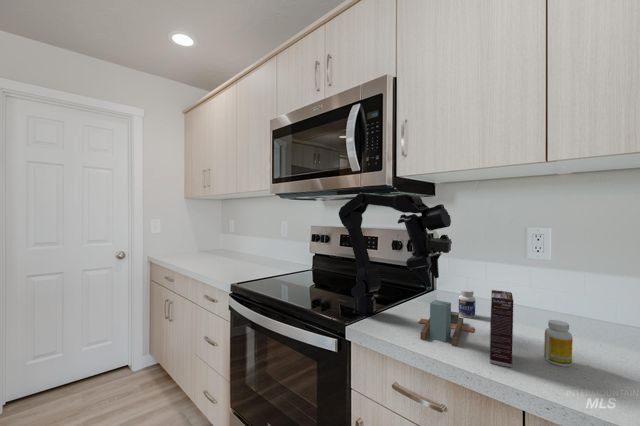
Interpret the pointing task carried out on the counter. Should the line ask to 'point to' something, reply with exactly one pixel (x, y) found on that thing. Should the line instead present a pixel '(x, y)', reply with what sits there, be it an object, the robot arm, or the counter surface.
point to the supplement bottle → (558, 343)
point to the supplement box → (501, 328)
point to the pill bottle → (467, 303)
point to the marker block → (440, 320)
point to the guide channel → (457, 325)
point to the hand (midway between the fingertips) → (433, 282)
